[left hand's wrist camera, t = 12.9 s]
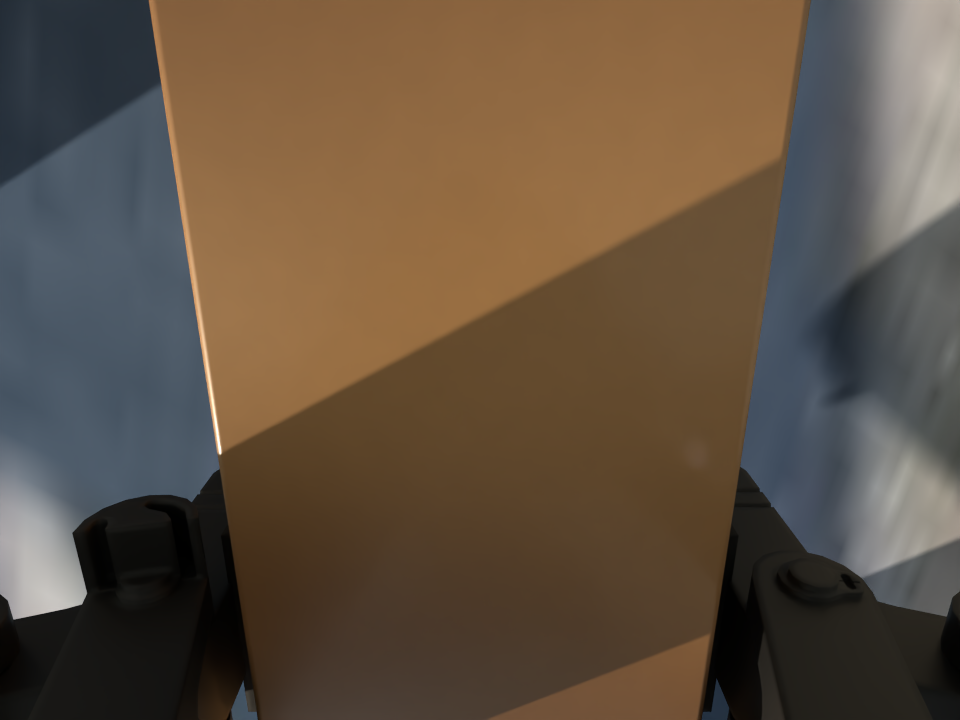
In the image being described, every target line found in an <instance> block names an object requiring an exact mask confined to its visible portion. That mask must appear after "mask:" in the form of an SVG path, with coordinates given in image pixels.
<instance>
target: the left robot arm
mask: <svg viewBox="0 0 960 720" xmlns="http://www.w3.org/2000/svg"><path fill="white" fill-rule="evenodd" d="M73 537H74V541H75V545H76V549H77V553H78V557H79V562H80V566H81V570H82V574H83V578H84V582H85V586H86V590H87V595H86V597H85V599H84V602H83V604H82V605H79V606H75V607H71V608H68V609H63V610H59V611H54V612H49V613H44V614H40V615H35V616H30V617H25V618H20V619H16V620H13V617H12V614H11V610H10V607H9V604H8V601H7V600H6V599H5V598H4V597H3V596H2V595H0V720H233V719H232V713H231V708H232V706H233V704H234V701H235V699H236V696H237V694H238V692H239V689H240V687H241V684H242V682H243V680H244V687H245V693H246V700H247V706H248V712H257V710H256V704H255V697H254V690H253V684H252V677H251V671H250V664H249V657H248V651H247V644H246V638H245V631H244V624H243V618H242V611H241V605H240V598H239V592H238V585H237V578H236V572H235V565H234V559H233V552H232V545H231V539H230V532H229V526H228V519H227V512H226V506H225V499H224V493H223V486H222V479H221V473H220V469H219V470H218V471H216V472H215V473H213V475H212V476H211V477H210V479H209V480H208V481H207V483H206V484H205V485H204V487H203V488H202V489H201V491H200V495H197V496H196V497H195V499H194V500H193V502H190V501H189V500H188V499H186V498H181V497H177V496H173V495H148V496H143V497H138V498H133V499H128V500H125V501H122V502H119V503H117V504H114V505H111V506H109V507H106V508H103V509H102V510H100V511H98V512H97V513H95V514H94V515H92V516H90V517H89V518H87V519H85V520H84V521H83V522H82V523H81V524H80V525H79V527H78V528H77V529H76V530H75V531H74V532H73ZM716 677H717V680H718V682H719V685H720V687H721V689H722V692H723V694H724V696H725V699H726V701H727V704H728V706H729V713H728V719H727V720H960V592H959V593H957V594H956V595H955V596H954V597H953V598H952V601H951V605H950V608H949V612H948V615H947V617H945V616H940V615H935V614H930V613H925V612H920V611H916V610H911V609H906V608H901V607H896V606H892V605H888V604H885V603H881V602H877V600H876V598H875V596H874V594H873V592H872V591H871V590H870V588H869V587H868V586H867V584H866V583H865V582H864V581H863V579H862V578H861V577H859V576H858V575H856V574H855V573H854V572H852V571H851V570H849V569H848V568H847V567H845V566H844V565H842V564H839V563H837V562H835V561H832V560H830V559H828V558H826V557H823V556H820V555H816V554H811V553H808V552H807V551H806V550H805V548H804V547H803V546H802V544H801V543H800V542H799V540H798V539H797V538H796V536H795V535H794V534H793V532H792V531H791V530H790V528H789V527H788V526H787V524H786V523H785V522H784V520H783V519H782V518H781V517H780V515H779V514H778V513H777V511H776V510H775V509H774V507H771V503H770V502H769V501H768V499H767V498H766V497H765V495H764V494H763V493H762V492H760V489H759V487H758V486H757V485H756V483H755V482H754V481H753V479H752V478H751V477H750V475H749V474H748V473H747V471H746V470H744V469H743V468H741V467H740V469H739V476H738V483H737V489H736V496H735V502H734V509H733V515H732V522H731V529H730V535H729V542H728V548H727V555H726V561H725V568H724V575H723V581H722V588H721V594H720V601H719V607H718V614H717V621H716V627H715V634H714V640H713V647H712V653H711V660H710V667H709V673H708V680H707V686H706V693H705V700H704V706H703V712H711V709H712V703H713V697H714V690H715V684H716Z"/></svg>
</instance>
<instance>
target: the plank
mask: <svg viewBox="0 0 960 720" xmlns="http://www.w3.org/2000/svg"><path fill="white" fill-rule="evenodd" d="M810 2H811V0H149V5H150V12H151V18H152V25H153V31H154V38H155V44H156V51H157V58H158V64H159V71H160V77H161V84H162V91H163V97H164V104H165V110H166V117H167V124H168V130H169V137H170V143H171V150H172V157H173V163H174V170H175V176H176V183H177V189H178V196H179V203H180V209H181V216H182V222H183V229H184V236H185V242H186V249H187V255H188V262H189V269H190V275H191V282H192V288H193V295H194V302H195V308H196V315H197V321H198V328H199V334H200V341H201V348H202V354H203V361H204V367H205V374H206V381H207V387H208V394H209V400H210V407H211V414H212V420H213V427H214V433H215V440H216V447H217V453H218V460H219V466H220V473H221V479H222V486H223V493H224V499H225V506H226V512H227V519H228V526H229V532H230V539H231V545H232V552H233V559H234V565H235V572H236V578H237V585H238V592H239V598H240V605H241V611H242V618H243V624H244V631H245V638H246V644H247V651H248V657H249V664H250V671H251V677H252V684H253V690H254V697H255V704H256V710H257V717H258V720H701V719H702V713H703V706H704V700H705V693H706V686H707V680H708V673H709V667H710V660H711V653H712V647H713V640H714V634H715V627H716V621H717V614H718V607H719V601H720V594H721V588H722V581H723V575H724V568H725V561H726V555H727V548H728V542H729V535H730V529H731V522H732V515H733V509H734V502H735V496H736V489H737V483H738V476H739V469H740V463H741V456H742V450H743V443H744V436H745V430H746V423H747V417H748V410H749V404H750V397H751V390H752V384H753V377H754V371H755V364H756V358H757V351H758V344H759V338H760V331H761V325H762V318H763V312H764V305H765V298H766V292H767V285H768V279H769V272H770V266H771V259H772V252H773V246H774V239H775V233H776V226H777V219H778V213H779V206H780V200H781V193H782V187H783V180H784V173H785V167H786V160H787V154H788V147H789V141H790V134H791V127H792V121H793V114H794V108H795V101H796V95H797V88H798V81H799V75H800V68H801V62H802V55H803V49H804V42H805V35H806V29H807V22H808V16H809V9H810Z"/></svg>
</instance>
